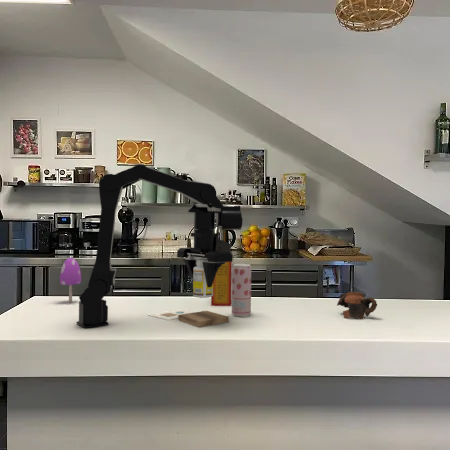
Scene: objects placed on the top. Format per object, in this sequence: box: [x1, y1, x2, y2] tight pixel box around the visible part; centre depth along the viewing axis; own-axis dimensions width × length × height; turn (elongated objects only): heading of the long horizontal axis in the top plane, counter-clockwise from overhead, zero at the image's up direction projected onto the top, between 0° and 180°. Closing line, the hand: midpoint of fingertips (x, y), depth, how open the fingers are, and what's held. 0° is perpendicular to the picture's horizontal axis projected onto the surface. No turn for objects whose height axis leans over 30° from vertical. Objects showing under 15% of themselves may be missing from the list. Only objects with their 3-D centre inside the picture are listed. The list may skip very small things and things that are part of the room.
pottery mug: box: [336, 291, 378, 320], centre depth 127 cm, size 12×10×8 cm
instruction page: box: [147, 308, 196, 321], centre depth 126 cm, size 12×9×1 cm
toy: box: [59, 257, 82, 304], centre depth 143 cm, size 7×7×15 cm
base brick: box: [177, 310, 230, 328], centre depth 118 cm, size 10×10×2 cm
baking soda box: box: [210, 261, 233, 307], centre depth 146 cm, size 10×6×16 cm
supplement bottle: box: [192, 258, 213, 299], centre depth 118 cm, size 6×6×10 cm
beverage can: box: [231, 263, 252, 318], centre depth 127 cm, size 6×6×15 cm
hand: (203, 285), depth 118 cm, fingers closed on supplement bottle, 5 cm apart
